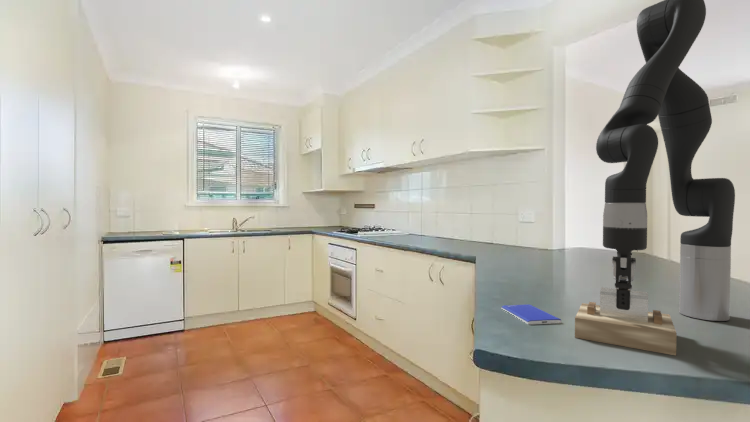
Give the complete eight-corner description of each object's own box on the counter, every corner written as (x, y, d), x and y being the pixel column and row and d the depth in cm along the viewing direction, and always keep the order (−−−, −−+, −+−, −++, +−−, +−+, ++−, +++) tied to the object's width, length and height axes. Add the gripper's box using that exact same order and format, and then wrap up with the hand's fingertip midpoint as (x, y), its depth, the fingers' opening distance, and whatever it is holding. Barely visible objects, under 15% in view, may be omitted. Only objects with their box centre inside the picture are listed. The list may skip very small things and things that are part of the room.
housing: (647, 316, 77) (647, 292, 77) (647, 322, 73) (648, 296, 73) (601, 310, 81) (601, 287, 81) (599, 315, 78) (600, 291, 78)
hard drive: (501, 305, 97) (528, 320, 84) (531, 304, 98) (561, 318, 86) (501, 311, 97) (527, 327, 84) (530, 310, 98) (561, 325, 86)
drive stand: (581, 320, 88) (582, 296, 88) (669, 333, 79) (669, 307, 79) (574, 337, 76) (575, 310, 76) (676, 355, 67) (676, 324, 67)
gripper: (648, 227, 69) (647, 316, 69) (645, 224, 81) (644, 300, 81) (600, 226, 73) (599, 309, 73) (604, 223, 85) (603, 295, 85)
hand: (623, 304), depth 77 cm, fingers open, 8 cm apart
